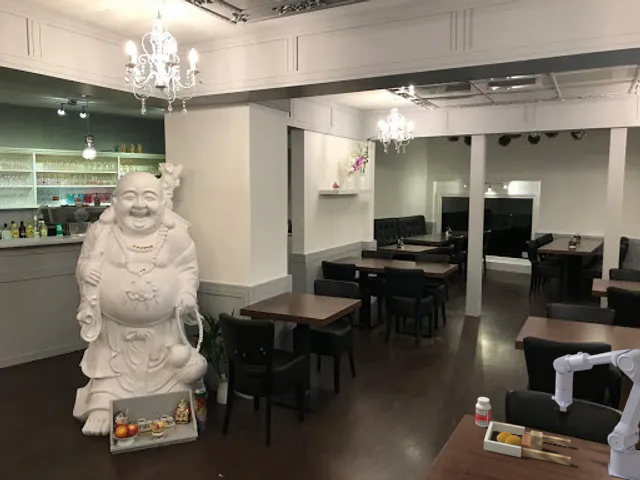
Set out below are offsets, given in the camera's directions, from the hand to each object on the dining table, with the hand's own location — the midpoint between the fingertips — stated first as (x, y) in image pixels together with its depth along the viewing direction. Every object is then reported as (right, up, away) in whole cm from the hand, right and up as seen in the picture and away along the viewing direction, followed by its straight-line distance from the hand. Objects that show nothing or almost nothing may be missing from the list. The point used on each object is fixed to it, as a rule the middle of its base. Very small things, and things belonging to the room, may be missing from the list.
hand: (562, 421), depth 192 cm
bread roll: (-19, -10, +4) cm, 22 cm away
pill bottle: (-24, -8, +20) cm, 32 cm away
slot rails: (-7, -10, -2) cm, 13 cm away
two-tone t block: (-12, -10, 0) cm, 16 cm away
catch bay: (-20, -10, +4) cm, 23 cm away
